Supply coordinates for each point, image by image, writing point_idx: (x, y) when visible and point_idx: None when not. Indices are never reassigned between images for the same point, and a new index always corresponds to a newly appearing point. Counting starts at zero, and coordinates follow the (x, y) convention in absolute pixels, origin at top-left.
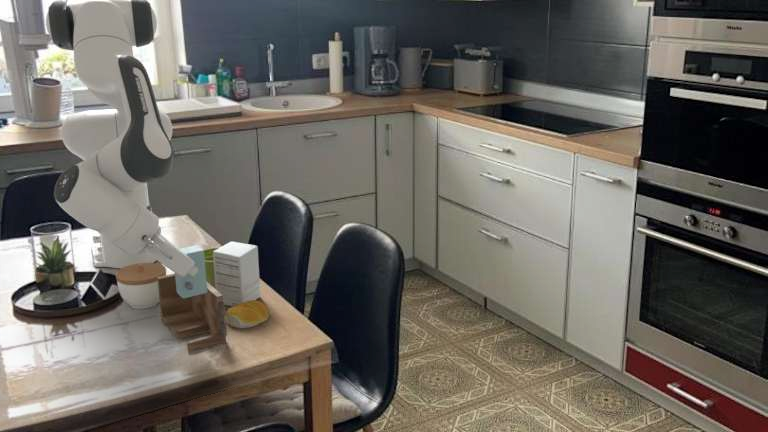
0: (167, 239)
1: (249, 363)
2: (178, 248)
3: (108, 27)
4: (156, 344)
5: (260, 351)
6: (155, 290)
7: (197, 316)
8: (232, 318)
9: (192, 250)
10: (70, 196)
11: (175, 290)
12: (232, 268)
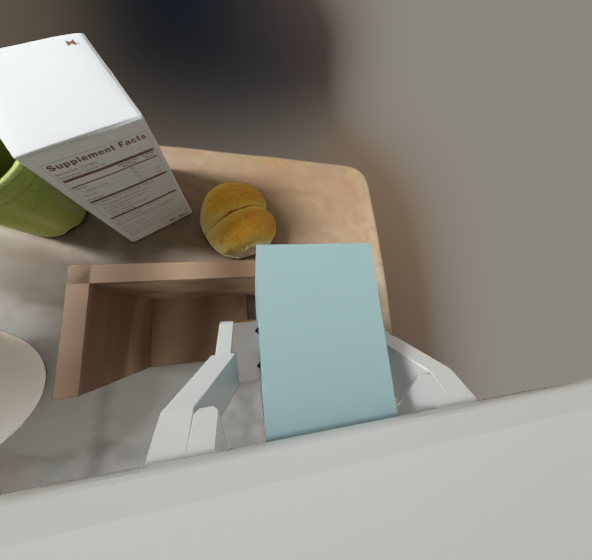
0: (93, 537)
1: (379, 278)
2: (438, 447)
3: None
4: (247, 398)
5: None
6: (23, 372)
7: (192, 299)
8: (251, 248)
9: (347, 307)
10: None
11: (118, 334)
12: (136, 163)
